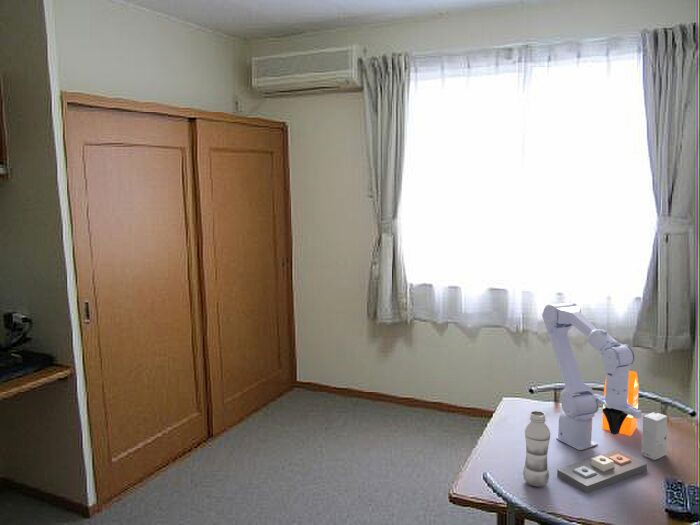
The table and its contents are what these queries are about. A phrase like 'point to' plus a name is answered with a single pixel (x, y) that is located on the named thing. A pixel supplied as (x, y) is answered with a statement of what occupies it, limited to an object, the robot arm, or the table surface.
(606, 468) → the cream key
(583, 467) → the grey blue key
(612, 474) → the keypad
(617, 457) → the terracotta key
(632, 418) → the orange juice
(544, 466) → the plastic bottle
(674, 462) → the table surface
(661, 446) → the skincare box
